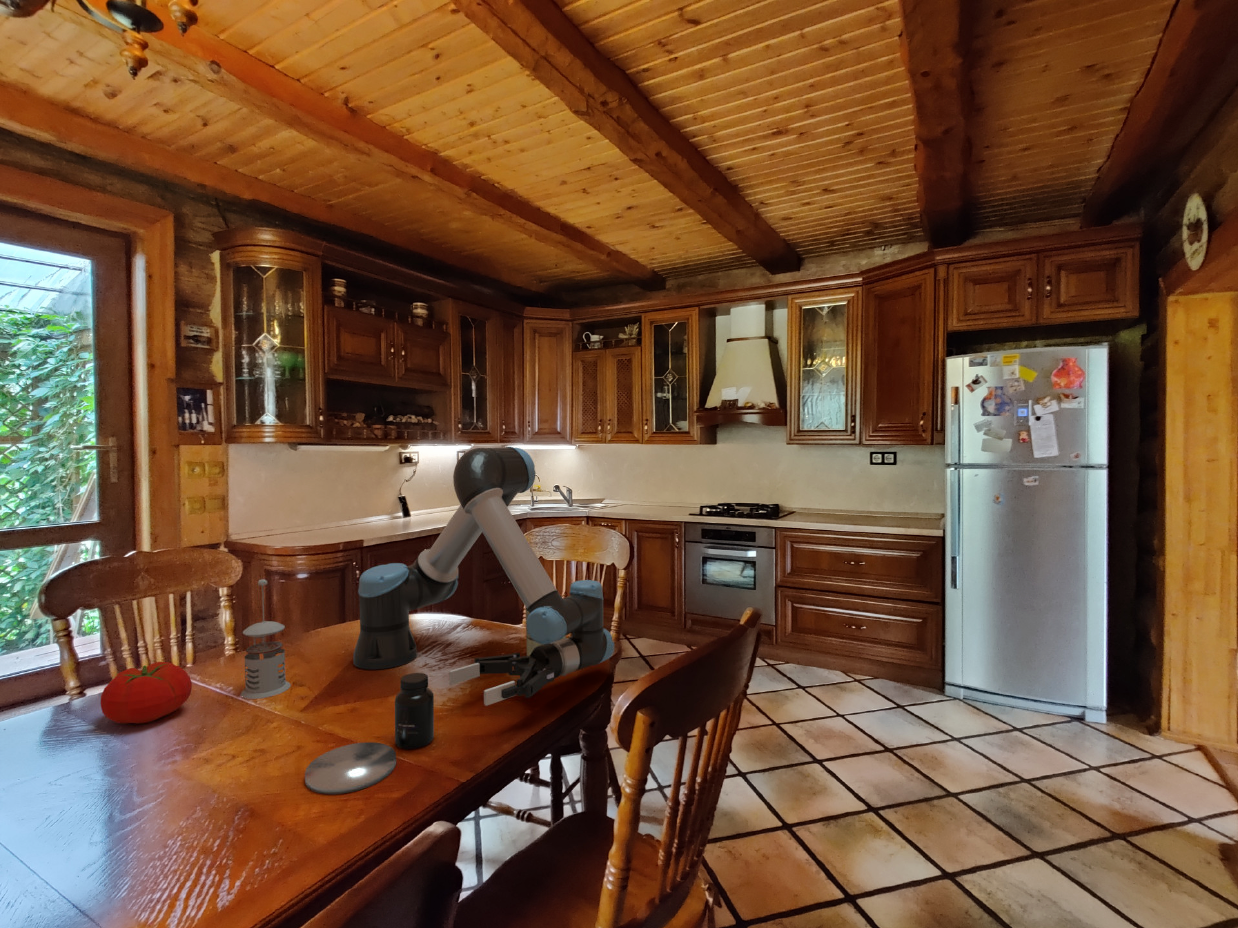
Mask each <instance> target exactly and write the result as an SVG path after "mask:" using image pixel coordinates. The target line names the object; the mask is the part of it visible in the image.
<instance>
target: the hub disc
mask: <svg viewBox="0 0 1238 928" xmlns="http://www.w3.org/2000/svg"><path fill="white" fill-rule="evenodd" d="M396 765H397V755H396V751H395V749H394V748H393V747H391V746H390V745H388V744H386V743H381V742H373V741H372V742H371V741H368V742H356V743H352V744H351V743H350V744H346V745H342V746H340V747H336V748H333V749H331V750H329V751H327V752H324V753H322V754H320V755H319V756H318V757H316V758H315V759H314V760H312V761H311V762H310V764H308V766H307V767H306V768H305V771H304V781H305V782H304V784H305V785H306V788H308V789H309V790H310V791H312V792H314V793H316V794H322V795H342V794H343V795H344V794H350V793H353V792H358V791H361V790H364V789H366V788H367V789H368V788H370V787H372V786H374V785H375V784H378V783H380V782H382V781H383V780H384V779H385V778H387V777H388V776H389V775H390V774H391V773H392V772H393V771H394V770H395V767H396Z"/></svg>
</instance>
